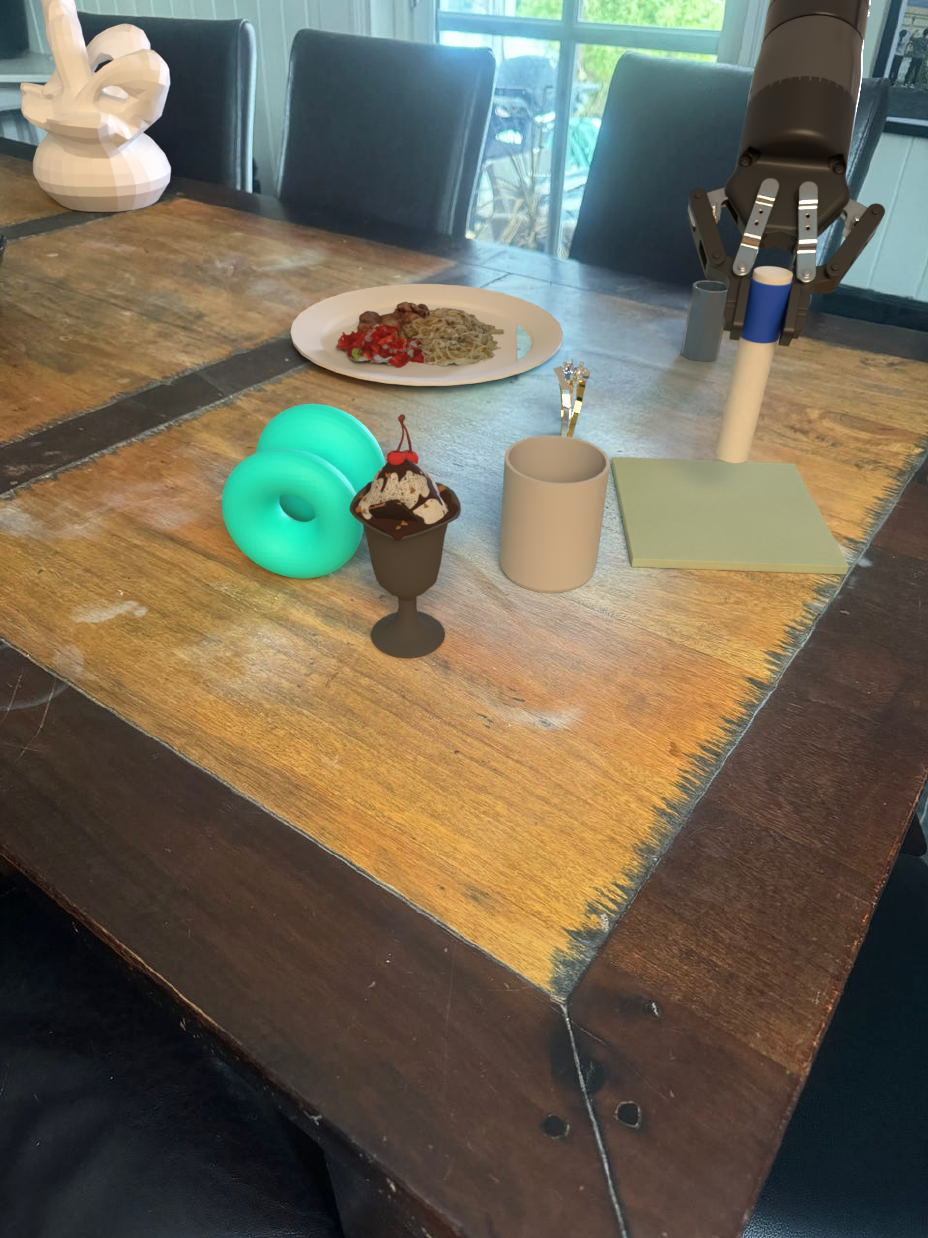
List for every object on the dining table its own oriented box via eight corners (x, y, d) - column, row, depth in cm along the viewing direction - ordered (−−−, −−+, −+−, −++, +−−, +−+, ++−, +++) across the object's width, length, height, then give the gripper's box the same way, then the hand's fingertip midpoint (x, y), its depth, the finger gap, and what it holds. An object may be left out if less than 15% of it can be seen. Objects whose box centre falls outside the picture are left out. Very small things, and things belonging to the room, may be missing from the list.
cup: (488, 585, 66) (493, 475, 60) (517, 516, 73) (524, 413, 68) (587, 602, 64) (602, 492, 59) (606, 530, 72) (621, 426, 66)
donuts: (226, 578, 66) (204, 453, 60) (270, 508, 73) (256, 391, 67) (361, 593, 65) (353, 468, 58) (391, 520, 72) (388, 403, 66)
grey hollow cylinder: (713, 353, 102) (727, 280, 97) (719, 367, 99) (734, 292, 94) (678, 352, 102) (690, 279, 97) (683, 366, 99) (696, 291, 94)
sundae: (416, 593, 65) (413, 394, 56) (477, 640, 61) (485, 434, 51) (338, 629, 61) (321, 423, 52) (397, 681, 57) (390, 468, 48)
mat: (792, 471, 80) (794, 462, 80) (846, 575, 68) (849, 566, 67) (611, 464, 81) (612, 456, 80) (631, 567, 68) (632, 558, 67)
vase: (193, 216, 142) (151, -65, 120) (39, 226, 135) (-34, -69, 114) (174, 175, 163) (136, -70, 141) (41, 182, 157) (-21, -74, 135)
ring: (580, 466, 80) (589, 380, 75) (543, 463, 80) (551, 377, 75) (583, 431, 86) (592, 349, 81) (548, 428, 86) (556, 346, 81)
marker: (745, 448, 72) (788, 265, 63) (753, 464, 70) (799, 278, 61) (709, 446, 72) (748, 264, 63) (716, 463, 70) (757, 277, 61)
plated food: (596, 324, 108) (600, 295, 106) (497, 423, 86) (499, 390, 84) (375, 284, 118) (374, 257, 116) (236, 365, 96) (232, 333, 94)
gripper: (705, 65, 63) (661, 301, 61) (921, 78, 60) (882, 325, 58) (695, 137, 70) (656, 349, 68) (888, 152, 67) (852, 373, 65)
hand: (761, 337), depth 63 cm, fingers closed on marker, 2 cm apart
